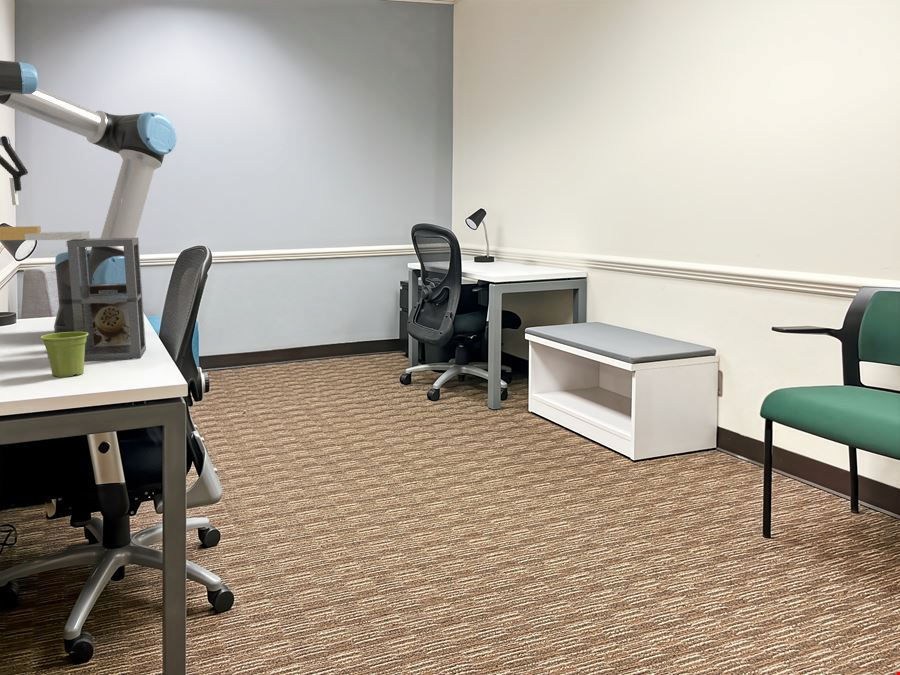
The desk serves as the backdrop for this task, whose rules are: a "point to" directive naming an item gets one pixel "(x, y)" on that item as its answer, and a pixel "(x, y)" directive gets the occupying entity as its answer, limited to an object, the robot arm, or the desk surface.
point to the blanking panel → (38, 234)
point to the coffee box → (110, 317)
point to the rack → (107, 297)
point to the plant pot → (66, 352)
